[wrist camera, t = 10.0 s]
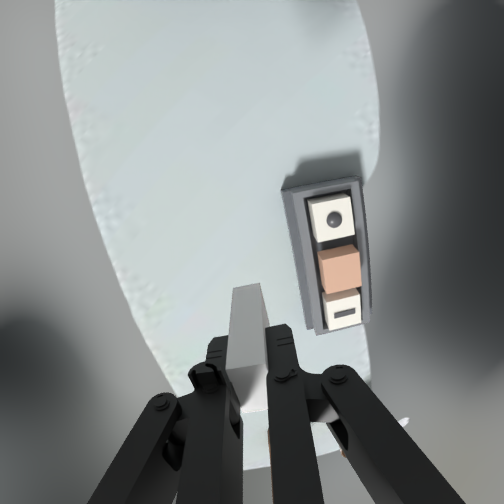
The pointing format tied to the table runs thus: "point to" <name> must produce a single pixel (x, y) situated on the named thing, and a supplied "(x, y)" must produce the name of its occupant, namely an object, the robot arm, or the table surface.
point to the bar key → (342, 308)
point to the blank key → (340, 268)
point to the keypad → (325, 247)
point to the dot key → (331, 217)
